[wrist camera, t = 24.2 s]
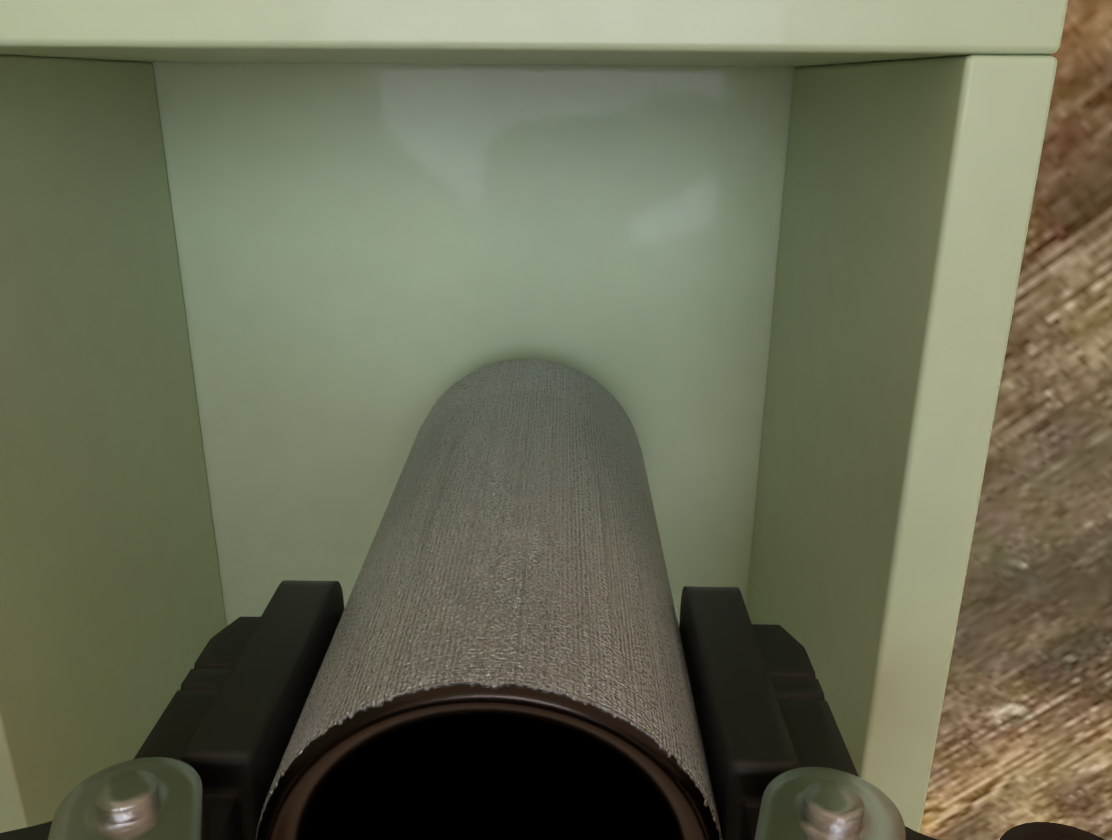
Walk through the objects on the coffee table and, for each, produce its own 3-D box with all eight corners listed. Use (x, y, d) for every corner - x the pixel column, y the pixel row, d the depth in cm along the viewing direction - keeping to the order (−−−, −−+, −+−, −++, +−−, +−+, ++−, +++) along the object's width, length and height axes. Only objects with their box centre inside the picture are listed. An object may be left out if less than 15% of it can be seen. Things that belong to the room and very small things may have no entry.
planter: (381, 515, 19) (188, 970, 9) (468, 318, 17) (348, 612, 8) (582, 597, 20) (600, 1106, 10) (682, 414, 18) (816, 796, 8)
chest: (838, 12, 18) (1080, -51, 9) (764, 737, 24) (874, 1099, 15) (116, 7, 18) (-282, -59, 10) (218, 730, 24) (26, 1086, 15)
